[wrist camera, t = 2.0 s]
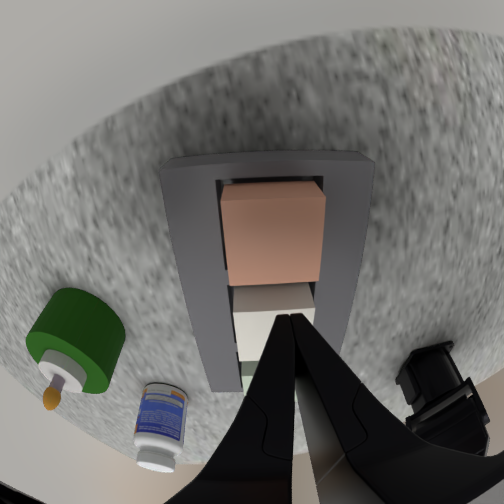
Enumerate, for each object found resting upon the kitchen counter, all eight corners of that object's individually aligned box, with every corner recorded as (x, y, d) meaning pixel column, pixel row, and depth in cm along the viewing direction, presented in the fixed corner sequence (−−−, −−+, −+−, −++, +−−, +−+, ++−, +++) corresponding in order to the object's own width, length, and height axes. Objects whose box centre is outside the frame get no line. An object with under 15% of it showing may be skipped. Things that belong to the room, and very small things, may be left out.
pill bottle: (136, 381, 27) (118, 456, 19) (179, 382, 27) (167, 463, 19) (155, 403, 30) (143, 470, 22) (194, 404, 30) (188, 476, 22)
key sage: (301, 347, 21) (305, 372, 19) (296, 378, 23) (300, 400, 21) (241, 351, 21) (241, 376, 19) (245, 381, 23) (245, 404, 21)
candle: (61, 271, 19) (2, 360, 11) (139, 324, 22) (107, 426, 14) (45, 318, 23) (5, 393, 14) (109, 360, 26) (83, 440, 17)
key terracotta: (313, 180, 14) (325, 197, 12) (310, 256, 16) (318, 281, 14) (224, 184, 14) (220, 201, 12) (231, 260, 16) (229, 286, 14)
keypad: (357, 151, 15) (375, 162, 13) (325, 363, 26) (329, 384, 23) (171, 158, 15) (158, 169, 13) (213, 370, 26) (211, 392, 24)
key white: (307, 281, 17) (315, 307, 15) (302, 331, 20) (307, 356, 18) (234, 285, 17) (233, 312, 15) (239, 335, 20) (239, 361, 18)
